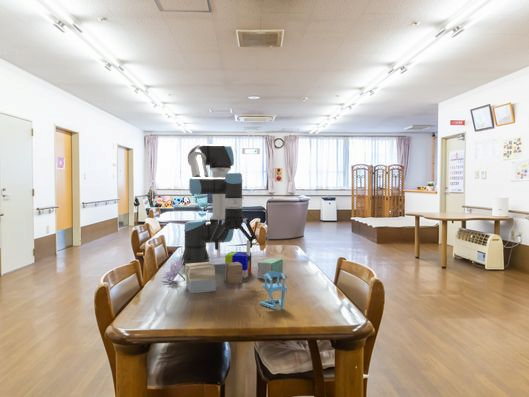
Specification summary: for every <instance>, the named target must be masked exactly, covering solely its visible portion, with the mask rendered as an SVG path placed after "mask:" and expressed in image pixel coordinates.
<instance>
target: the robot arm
mask: <svg viewBox="0 0 529 397" xmlns="http://www.w3.org/2000/svg"><path fill="white" fill-rule="evenodd" d="M234 160H235V158H234V152H233V147H232V146H231V145H229V144H224V143H221V144H220V143H219V144H218V143H214V144H213V143H201V144H198V145H196V146H194V147H193V148H192V149H190V151H189V153H188V154H187V163H188V164H189V166H190V169H191V175H192V176H191V178H189V181H188V183H189V186H188V187H189V188H188V189H189V193H190V194H191V195H197V196H198V195H212V216H211V217H209V221H207V219H206V218H200V219H193V220H188V221H186V222H185V223H184V229H183V231H184V249H183V252H182V255H181V257H182V260H181V262H182V261H183V259H184V261H183V265H185V264H189V263H202V262H209V263H210V256H209V253H208V249H207V244H214V250H215V251H216V257H217V258H218V259H220V258H221V243H230V242H231V241H233V237H234V233H235V230H238V229H239V230H240V231H241V233H242V234H243V235H244V236H245V237H246V238H247V239H248V240H247V239H246V252H247V255H248V256H250V252H251V249H252V248H253V241H254V240H256V239H257V236H256V234H255V232H254V230H253V227H252V225H251V224H250V218H247V217H246V218H243V209H242V208H243V182H244V181H243V174H242V173H240V172H230V170H231V169H232V168H231V167H232V166H234V163H235V162H234ZM207 166H209V170H210V171H211V172H212V177H209V173H208V168H207ZM243 223H244V224H245V226H246V228H247V230H248V232H249V233H248V232H247V230H246V229H245V228H244V227H243Z"/></svg>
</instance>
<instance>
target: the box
mask: <svg viewBox="0 0 529 397" xmlns="http://www.w3.org/2000/svg"><path fill="white" fill-rule="evenodd" d="M283 268H284V261H283V258H278V257H268V258H266V259H263V260H261V261H258V262H257V279H261V280H262V279H263V280H265V279H264V275H265V274H266V273H268V272H270V271H275V272H280V273H282V274H284V271H283ZM274 278H276V277H271V279H272V280H273V279H274ZM266 279H267V280H269V279H268V278H266Z"/></svg>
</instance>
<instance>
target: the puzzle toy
mask: <svg viewBox="0 0 529 397" xmlns="http://www.w3.org/2000/svg"><path fill="white" fill-rule="evenodd" d="M224 256H225V257H224V258H225V260H224V261H225V263H232V262H239V263H240V264H242V278H248V276H250V274H251V273H252V252H251V251H250V256H248V255H247V251H230V252H228V253H226V254H225V255H224ZM225 263H224V264H225Z"/></svg>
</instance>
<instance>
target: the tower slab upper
mask: <svg viewBox="0 0 529 397" xmlns="http://www.w3.org/2000/svg"><path fill="white" fill-rule="evenodd" d="M184 265H185V266H184V268H185V269H184V270H185V271H184V275H185V278H186V277H187V278H188V279H189V281H200V280H211V279H215V280H216V267H215V266H214V265H213V264H212V263H211V262H210V261H209V262H202V263H189V264H184Z"/></svg>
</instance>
